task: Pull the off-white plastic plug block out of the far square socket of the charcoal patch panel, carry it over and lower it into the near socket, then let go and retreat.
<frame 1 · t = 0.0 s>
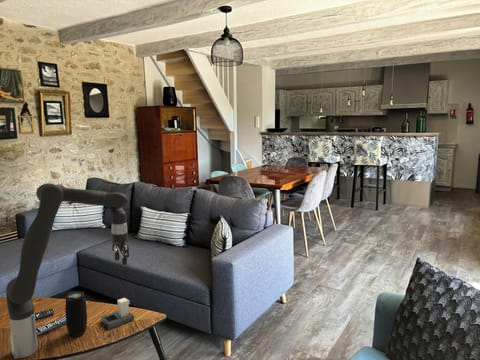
hand: (120, 262, 185), 29 cm above the table, fingers open, 8 cm apart
plug: (123, 318, 187), resting in panel
panel: (117, 320, 185), on the table
portable speaker: (77, 333, 174), on the table
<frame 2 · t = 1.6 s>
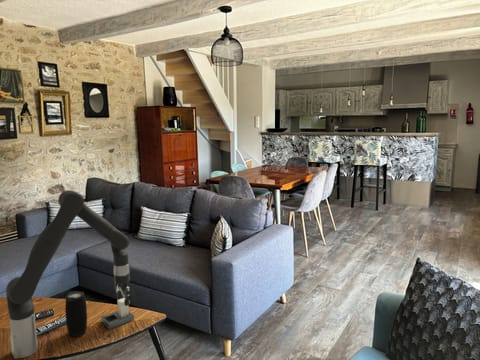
hand: (123, 302, 186), 9 cm above the table, fingers open, 8 cm apart
nothing on the table moved.
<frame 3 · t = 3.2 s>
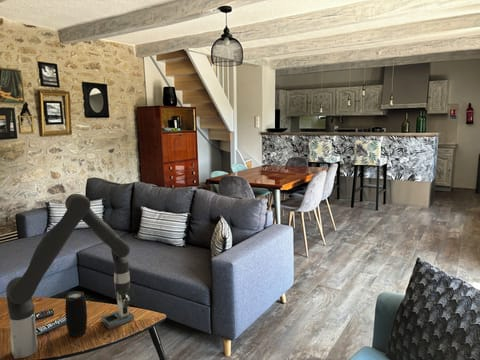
hand: (123, 311, 187), 4 cm above the table, fingers closed on plug, 4 cm apart
plug: (123, 318, 187), resting in panel, touching gripper
everything else where it was.
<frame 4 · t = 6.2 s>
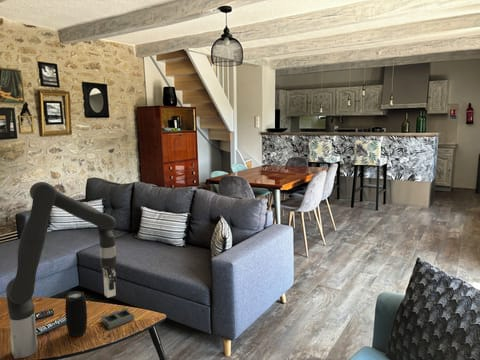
hand: (109, 287, 180), 19 cm above the table, fingers closed on plug, 4 cm apart
plug: (110, 295, 181), point 15 cm above the table, touching gripper
everything else where it was.
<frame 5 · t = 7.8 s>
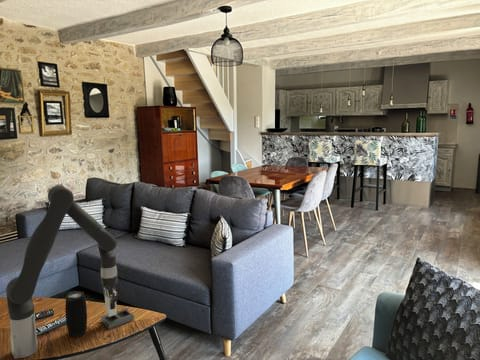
hand: (110, 307, 182), 8 cm above the table, fingers closed on plug, 4 cm apart
plug: (111, 314, 182), point 5 cm above the table, touching gripper
everything else where it was.
when the fingers open (5 cm above the table, at t = 9.3 s): plug drops 1 cm, resting in panel.
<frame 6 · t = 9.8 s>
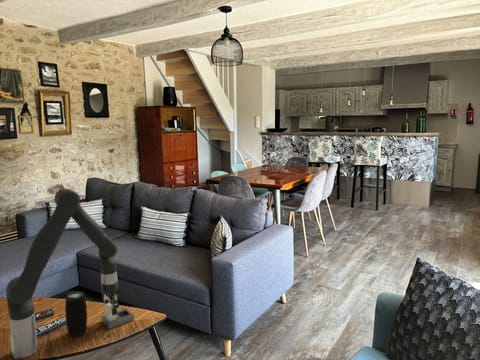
hand: (110, 311, 182), 6 cm above the table, fingers open, 8 cm apart
plug: (111, 323, 183), resting in panel
everything else where it was.
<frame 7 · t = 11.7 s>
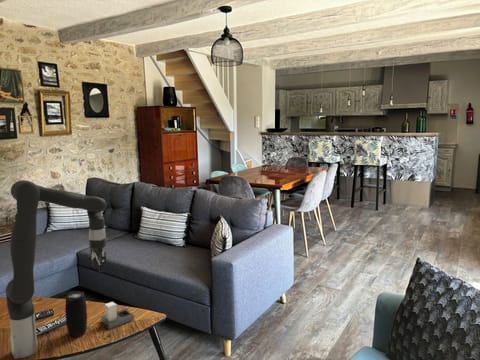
hand: (98, 269, 179), 28 cm above the table, fingers open, 8 cm apart
nothing on the table moved.
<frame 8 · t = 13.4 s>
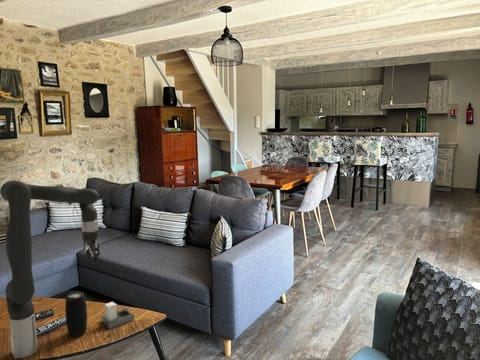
hand: (91, 261, 179), 32 cm above the table, fingers open, 8 cm apart
nothing on the table moved.
at the end: plug 0.1 cm from the target spot on the panel, point 0.0 cm above the panel's base; plug tilted 0°; the gripper is holding nothing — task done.
